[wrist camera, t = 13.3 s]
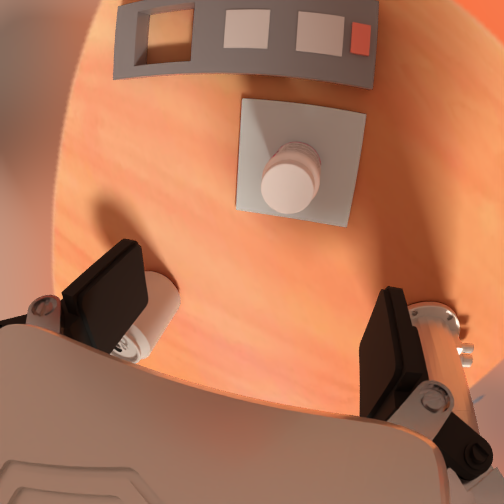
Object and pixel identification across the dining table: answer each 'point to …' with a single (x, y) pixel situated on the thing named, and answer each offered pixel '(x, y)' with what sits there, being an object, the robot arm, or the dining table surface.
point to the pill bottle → (291, 178)
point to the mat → (307, 131)
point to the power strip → (259, 39)
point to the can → (149, 319)
